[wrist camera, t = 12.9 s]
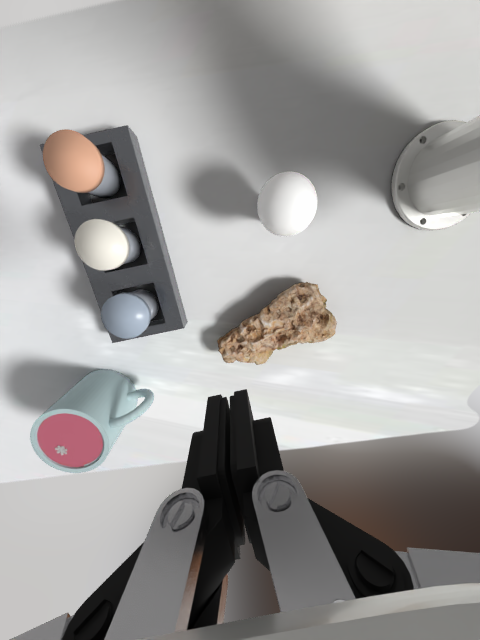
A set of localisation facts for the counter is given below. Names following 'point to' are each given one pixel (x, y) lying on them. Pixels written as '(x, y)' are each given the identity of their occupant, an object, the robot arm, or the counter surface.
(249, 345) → the rock
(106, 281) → the key panel
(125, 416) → the mug
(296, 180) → the lightbulb
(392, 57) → the counter surface
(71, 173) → the terracotta key
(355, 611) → the robot arm
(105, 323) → the light blue cylinder
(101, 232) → the cream key
